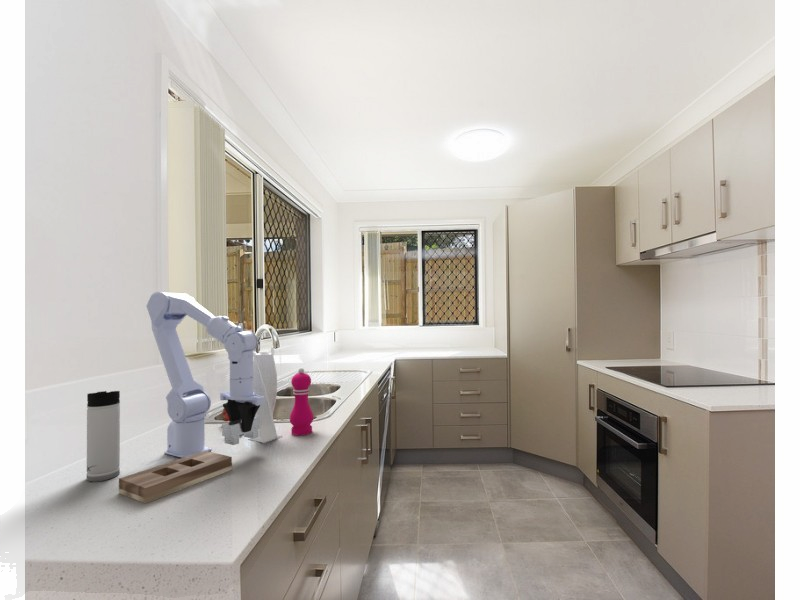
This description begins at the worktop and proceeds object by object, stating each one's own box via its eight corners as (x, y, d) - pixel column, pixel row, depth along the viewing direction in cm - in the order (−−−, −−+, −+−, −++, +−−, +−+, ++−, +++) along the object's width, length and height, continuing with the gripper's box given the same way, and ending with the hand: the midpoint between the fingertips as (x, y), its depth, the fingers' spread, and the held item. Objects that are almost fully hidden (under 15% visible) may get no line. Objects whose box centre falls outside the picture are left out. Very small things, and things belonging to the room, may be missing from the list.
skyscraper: (285, 438, 125) (284, 344, 126) (263, 446, 118) (263, 346, 119) (266, 434, 130) (266, 344, 130) (244, 441, 123) (243, 346, 124)
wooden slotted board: (118, 493, 87) (118, 478, 88) (205, 462, 105) (205, 450, 105) (145, 503, 82) (145, 488, 83) (231, 469, 100) (231, 456, 100)
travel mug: (83, 484, 92) (84, 393, 93) (89, 474, 98) (89, 388, 99) (117, 479, 95) (117, 390, 96) (121, 469, 101) (121, 386, 102)
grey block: (222, 443, 105) (222, 423, 106) (251, 434, 113) (251, 416, 113) (231, 445, 104) (231, 425, 104) (260, 436, 111) (260, 417, 112)
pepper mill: (292, 429, 133) (291, 366, 134) (314, 429, 134) (314, 366, 135) (287, 436, 126) (287, 369, 127) (312, 435, 127) (311, 369, 127)
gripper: (273, 377, 109) (273, 430, 108) (235, 373, 116) (236, 423, 116) (251, 381, 103) (251, 437, 102) (213, 377, 110) (213, 429, 110)
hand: (241, 430), depth 108 cm, fingers closed on grey block, 3 cm apart
